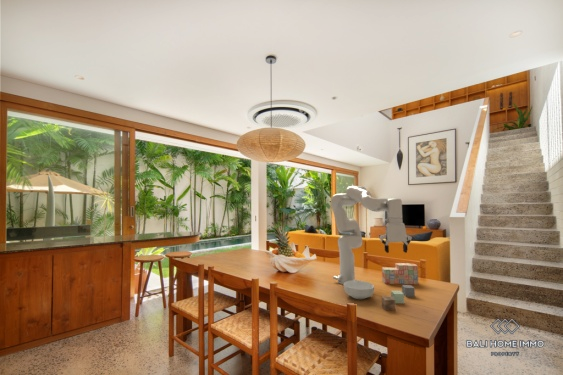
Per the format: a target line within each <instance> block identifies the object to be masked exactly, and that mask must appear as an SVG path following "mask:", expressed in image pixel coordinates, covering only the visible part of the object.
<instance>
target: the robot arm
mask: <svg viewBox="0 0 563 375" xmlns="http://www.w3.org/2000/svg"><path fill="white" fill-rule="evenodd" d="M358 203H360V204H361V205H362V207H363V208H365V209H367V210H369V211H372V212H376V213H378V212H386V214H387V217H386V218H385V219H384V221H385V222H387V223H386V226H385V231H384V232H385V233H384V234H382V235H380V236H379V240H380V242H381V243H382V244H383V245H384V251H385V252H386V253H387V254H389V253H390V246H389V244H390V243H403V244H402V251H403V253H404V254H406V253H408V249H409V248H408V246H409V244H410V243H411V241H412V239H413V237H412V235H411V236H410V235H409V234H407V230H406V225H405V223H404V222H403V203H402V199H401V198H385V197H383V198H378V197H377V198H375V197H372V195H371V193H370V191H369V190H368V189H367V188H366V187H365V186H363V185H362V186H361V185H351V186H350V185H349V186H347V188H346V190H345V193H336V194H333V196H332V197H331V200H330V207H331V209H332V212H333V215H334V221H335V226H336V229H337V232H339V233H341V234H343V235H340V236H339V237H338V239H337V245H338V250H339V274H338V275H337V276H336V275H333V276H332V279H333V280H337V283H338V284H340V285H344V282H346V281H352V280H356V276H355V275H356V274H355V255H354V251H353V250H352V249H358V248H361V247H362V245H363V237H362V233H361V228H360V224H359V223H358V221H357V220H356V219H355V218H348V215H347V212H346V210H345V209H344V207H346V206H347V207H348V206H349V207H350V206H354V205H357V204H358ZM343 206H344V207H343ZM384 238H385V240H384Z"/></svg>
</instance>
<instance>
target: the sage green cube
mask: <svg viewBox="0 0 563 375" xmlns="http://www.w3.org/2000/svg"><path fill="white" fill-rule="evenodd" d="M390 297H392V298H393V299H394V300H395V304H405V296H404V294H403V293H402V290H390Z"/></svg>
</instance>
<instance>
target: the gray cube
mask: <svg viewBox="0 0 563 375" xmlns="http://www.w3.org/2000/svg"><path fill="white" fill-rule="evenodd" d="M401 292H402V293H403V294H404V297H407V298H408V297H409V298H410V297H411V298H415V297H416V295H415V294H416V291H415V287H414V286H413V285H412V284H401Z"/></svg>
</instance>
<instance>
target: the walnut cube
mask: <svg viewBox="0 0 563 375" xmlns="http://www.w3.org/2000/svg"><path fill="white" fill-rule="evenodd" d="M381 307H382V308H383V309H384V310H385V311H396V303H395V300H394V299H393V298H392V297H391V296H381Z"/></svg>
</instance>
